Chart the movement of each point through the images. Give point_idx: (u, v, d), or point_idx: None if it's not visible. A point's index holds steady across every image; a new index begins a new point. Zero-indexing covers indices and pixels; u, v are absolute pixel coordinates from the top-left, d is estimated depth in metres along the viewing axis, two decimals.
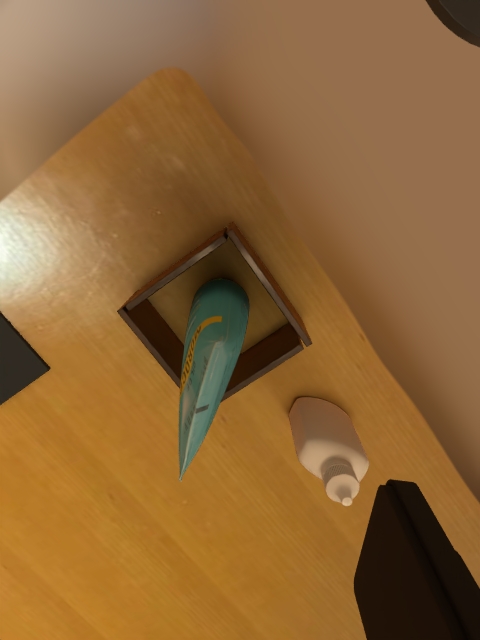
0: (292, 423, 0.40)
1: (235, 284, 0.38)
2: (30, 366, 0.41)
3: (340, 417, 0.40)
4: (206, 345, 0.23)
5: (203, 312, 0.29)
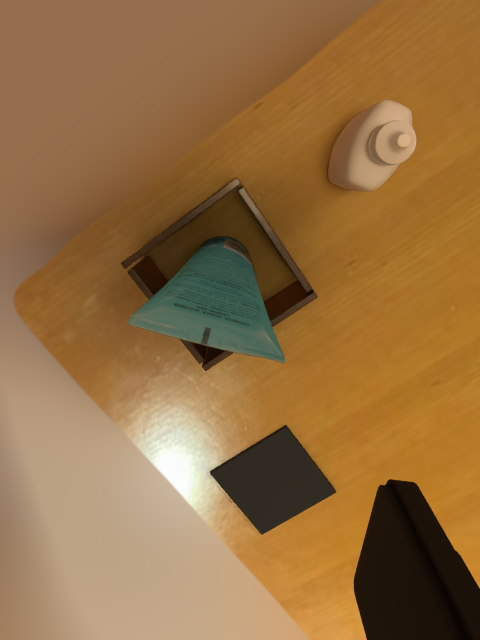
0: (350, 189, 0.35)
1: None
2: (282, 441, 0.44)
3: (346, 131, 0.34)
4: None
5: None
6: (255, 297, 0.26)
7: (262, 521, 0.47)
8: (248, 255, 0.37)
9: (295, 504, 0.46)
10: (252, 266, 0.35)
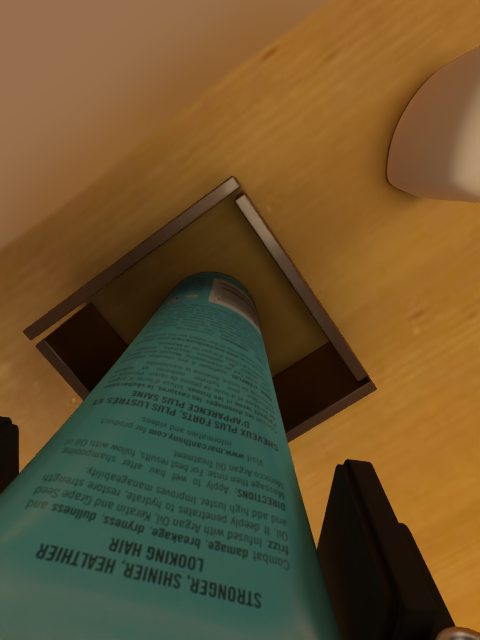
0: (431, 197, 0.20)
1: None
2: None
3: (429, 92, 0.19)
4: None
5: None
6: (272, 450, 0.11)
7: None
8: (252, 307, 0.22)
9: None
10: (260, 331, 0.20)
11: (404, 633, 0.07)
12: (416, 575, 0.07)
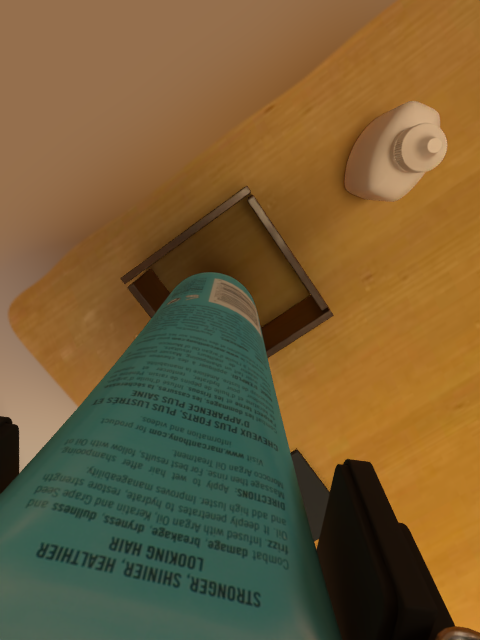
0: (369, 198, 0.32)
1: None
2: None
3: (365, 135, 0.31)
4: None
5: None
6: (272, 450, 0.11)
7: None
8: (253, 307, 0.22)
9: None
10: (260, 331, 0.20)
11: (404, 633, 0.07)
12: (416, 575, 0.07)
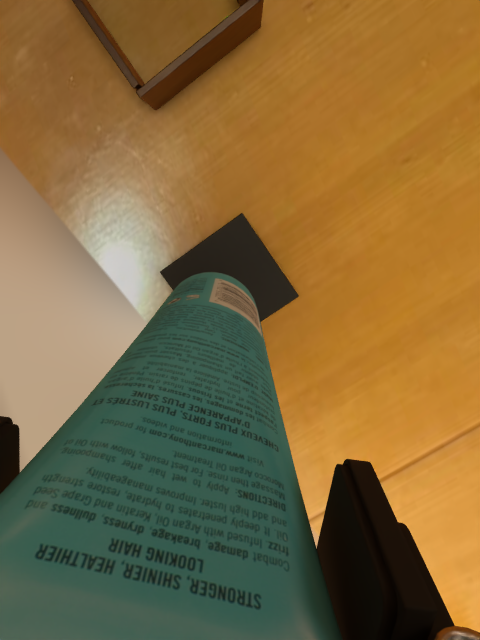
0: None
1: None
2: (237, 232, 0.40)
3: None
4: None
5: None
6: (272, 450, 0.11)
7: None
8: (254, 307, 0.22)
9: None
10: (261, 331, 0.20)
11: (403, 632, 0.07)
12: (415, 575, 0.07)
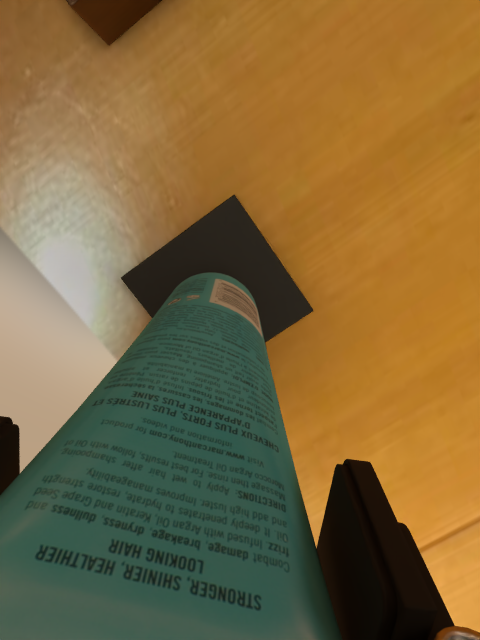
0: None
1: None
2: (228, 221, 0.28)
3: None
4: None
5: None
6: (272, 451, 0.11)
7: None
8: (254, 307, 0.22)
9: None
10: (261, 331, 0.20)
11: (403, 633, 0.07)
12: (415, 575, 0.07)
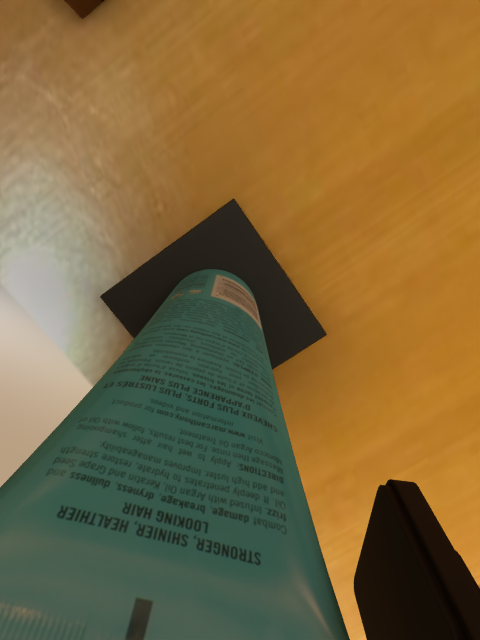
0: None
1: None
2: (226, 230, 0.24)
3: None
4: None
5: None
6: (271, 431, 0.12)
7: None
8: (253, 302, 0.23)
9: None
10: (260, 325, 0.21)
11: None
12: None
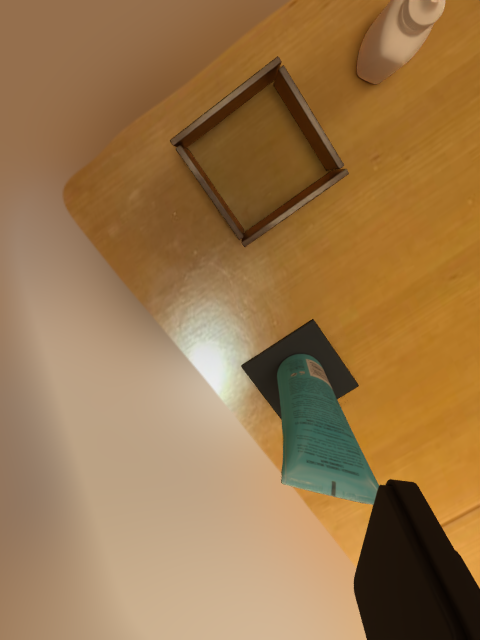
0: (378, 77, 0.38)
1: (281, 367, 0.47)
2: (309, 334, 0.47)
3: (375, 20, 0.37)
4: None
5: None
6: (352, 438, 0.35)
7: None
8: (324, 373, 0.46)
9: None
10: (331, 387, 0.44)
11: None
12: None
